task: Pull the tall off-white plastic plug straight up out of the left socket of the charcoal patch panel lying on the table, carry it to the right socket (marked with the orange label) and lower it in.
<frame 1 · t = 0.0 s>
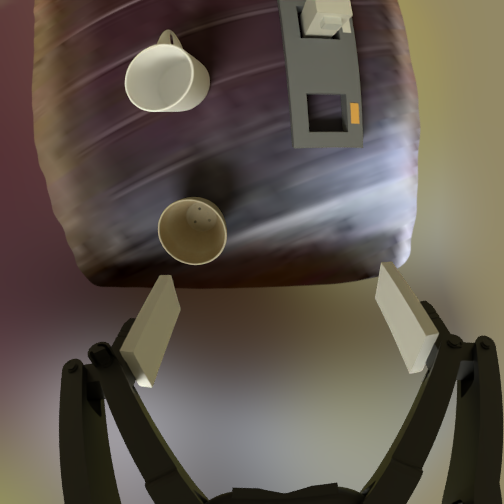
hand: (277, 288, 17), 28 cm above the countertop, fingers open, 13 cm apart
flower pot: (201, 215, 45), on the countertop
panel: (319, 68, 33), on the countertop
mug: (183, 74, 35), on the countertop
plug: (314, 27, 30), resting in panel
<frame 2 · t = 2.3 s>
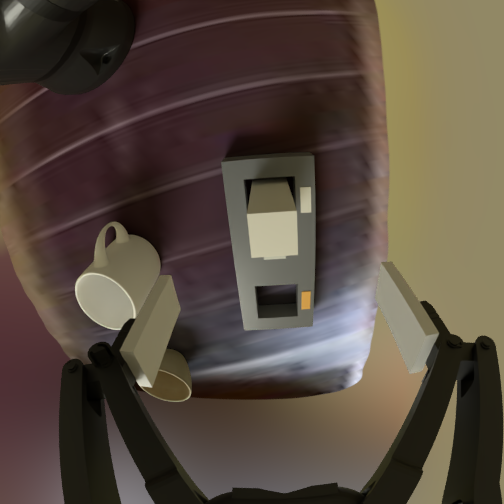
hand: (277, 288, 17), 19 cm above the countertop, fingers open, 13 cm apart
flower pot: (172, 356, 49), on the countertop
panel: (273, 245, 37), on the countertop
mug: (133, 248, 38), on the countertop
plug: (270, 194, 34), resting in panel
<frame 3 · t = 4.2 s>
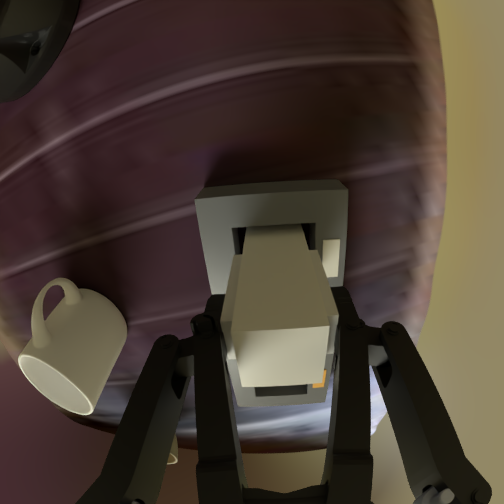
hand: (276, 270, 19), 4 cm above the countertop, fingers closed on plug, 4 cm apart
panel: (278, 311, 26), on the countertop
mug: (92, 303, 27), on the countertop
plug: (274, 243, 22), resting in panel, touching gripper
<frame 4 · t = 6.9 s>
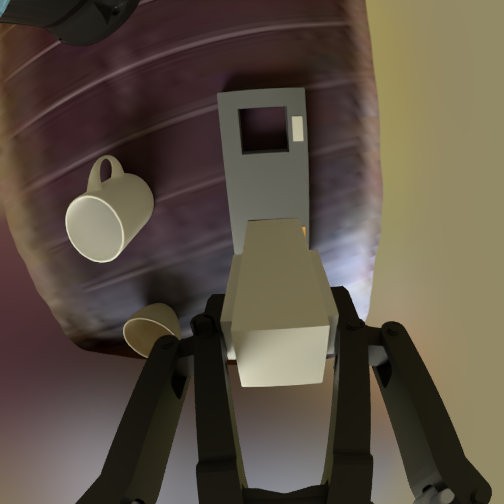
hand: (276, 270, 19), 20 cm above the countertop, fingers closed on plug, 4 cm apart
flower pot: (162, 312, 48), on the countertop
panel: (267, 180, 36), on the countertop
mug: (128, 188, 37), on the countertop
plug: (274, 243, 22), point 16 cm above the countertop, touching gripper
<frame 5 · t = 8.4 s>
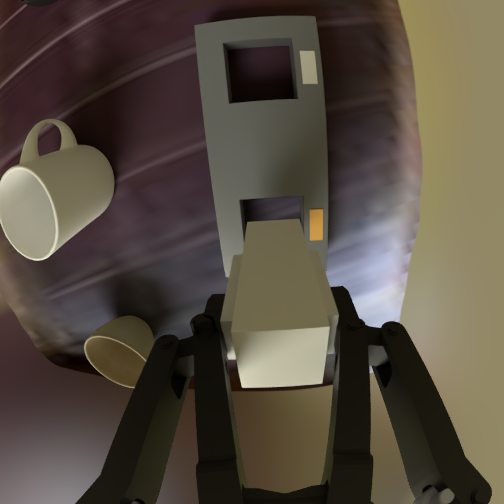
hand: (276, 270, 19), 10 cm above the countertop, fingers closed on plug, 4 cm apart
flower pot: (135, 327, 37), on the countertop
panel: (267, 145, 25), on the countertop
mug: (84, 165, 26), on the countertop
plug: (274, 243, 22), point 6 cm above the countertop, touching gripper
when the fingers open (5 cm above the countertop, at t = 9.7 s): plug stays where it is, resting in panel.
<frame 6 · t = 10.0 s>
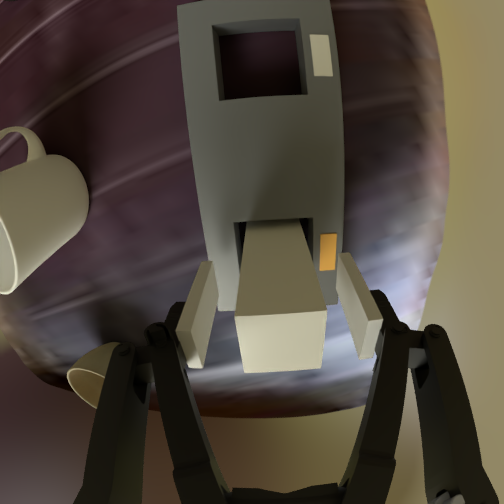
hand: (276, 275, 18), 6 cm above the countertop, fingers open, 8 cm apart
flower pot: (123, 354, 32), on the countertop
panel: (268, 153, 20), on the countertop
mug: (57, 178, 21), on the countertop
plug: (273, 238, 23), resting in panel
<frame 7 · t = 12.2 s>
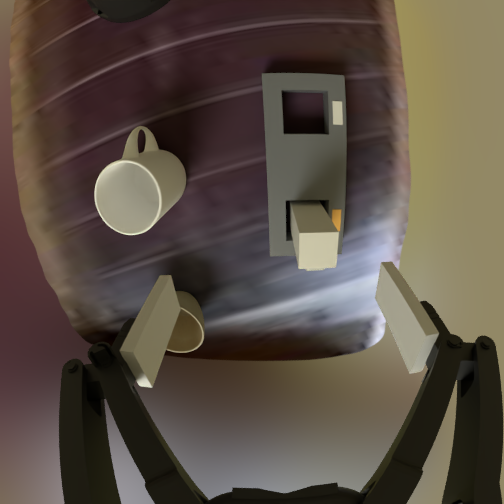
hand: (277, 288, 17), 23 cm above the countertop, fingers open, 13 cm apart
flower pot: (183, 302, 47), on the countertop
panel: (304, 164, 36), on the countertop
mug: (159, 166, 37), on the countertop
plug: (304, 213, 39), resting in panel
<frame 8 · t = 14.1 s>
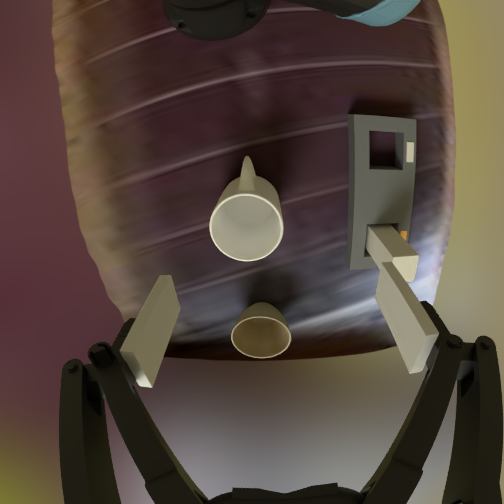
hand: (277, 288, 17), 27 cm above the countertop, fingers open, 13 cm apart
flower pot: (261, 311, 52), on the countertop
panel: (378, 191, 40), on the countertop
mug: (250, 190, 42), on the countertop
plug: (374, 232, 43), resting in panel
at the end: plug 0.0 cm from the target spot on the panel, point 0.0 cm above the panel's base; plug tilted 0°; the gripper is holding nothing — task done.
